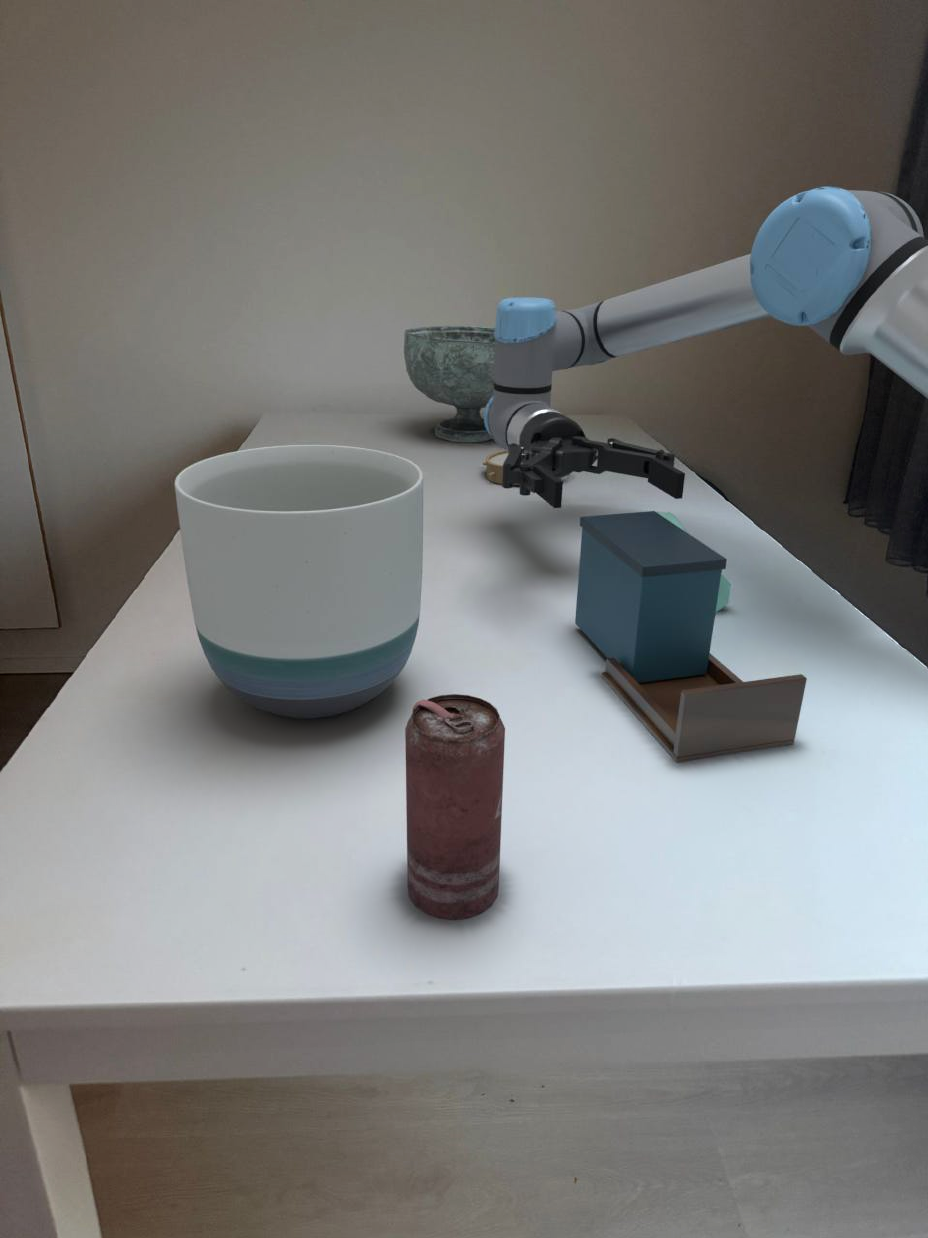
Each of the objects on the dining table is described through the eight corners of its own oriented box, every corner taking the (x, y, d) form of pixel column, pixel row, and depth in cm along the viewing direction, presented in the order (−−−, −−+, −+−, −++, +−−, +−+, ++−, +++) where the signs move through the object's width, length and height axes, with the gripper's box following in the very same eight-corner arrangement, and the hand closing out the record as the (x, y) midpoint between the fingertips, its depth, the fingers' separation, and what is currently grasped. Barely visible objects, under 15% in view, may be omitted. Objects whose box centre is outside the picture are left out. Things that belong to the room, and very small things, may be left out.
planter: (177, 675, 88) (149, 459, 79) (370, 633, 97) (364, 435, 88) (239, 783, 72) (213, 528, 63) (462, 721, 81) (467, 490, 72)
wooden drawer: (600, 681, 88) (606, 616, 85) (702, 667, 91) (712, 604, 88) (675, 768, 75) (685, 694, 72) (793, 749, 78) (807, 678, 75)
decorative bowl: (374, 428, 181) (376, 324, 172) (467, 413, 197) (473, 318, 189) (463, 460, 164) (470, 346, 155) (557, 441, 180) (568, 337, 172)
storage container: (572, 622, 98) (580, 516, 93) (643, 614, 100) (654, 510, 95) (630, 685, 85) (642, 567, 80) (709, 675, 87) (726, 558, 82)
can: (430, 852, 65) (430, 680, 59) (512, 880, 62) (520, 703, 56) (387, 905, 60) (382, 724, 54) (474, 938, 57) (479, 751, 51)
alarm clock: (479, 452, 156) (564, 435, 156) (484, 479, 158) (568, 463, 158) (488, 469, 146) (579, 452, 146) (493, 498, 148) (582, 481, 148)
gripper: (636, 465, 116) (723, 516, 97) (448, 477, 109) (503, 534, 91) (642, 406, 113) (733, 447, 94) (449, 415, 106) (506, 461, 88)
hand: (620, 490), depth 92 cm, fingers open, 13 cm apart
